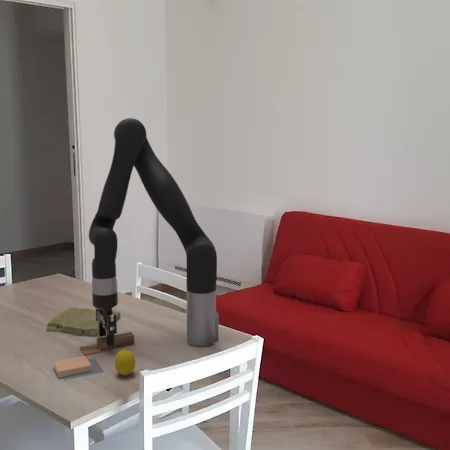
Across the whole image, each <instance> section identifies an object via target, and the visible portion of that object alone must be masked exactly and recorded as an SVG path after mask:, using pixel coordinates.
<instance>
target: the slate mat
mask: <svg viewBox="0 0 450 450" xmlns="http://www.w3.org/2000/svg"><path fill="white" fill-rule="evenodd" d="M87 359H88V361H89V362H90V364H91V368H92V372H88V373H83V374H78V375H73V376H69V377H64V378H63V380H64V381H67V380H72V379H76V378H81V377H85V376H90V375H95V374H99V373H104V372H105V371H104V369H103V368H102V366H101V365H100V364H99V362H98V361H97V359H96V358H95V357H93V358H87Z"/></svg>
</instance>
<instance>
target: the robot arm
mask: <svg viewBox="0 0 450 450" xmlns="http://www.w3.org/2000/svg"><path fill="white" fill-rule="evenodd" d="M145 127H146V126H145V125H144V124H143V123H142V122H141V121H140V120H138V119H136V118H133V117H130V118H124V119H123V120H120V121H119V122H118V123H117V125H116V126H115V127H114V128H115V129H114V132H113V138H114V140H115V141H114V147H113V148H114V150H113V156H112V162H111V164H110V168H109V171H108V173H107V174H108V175H107V178H106V180H105V182H104V185H103V188H102V192H101V195H100V199H99V203H98V207H97V212H96V213H95V215H94V217H93V220H92V222H91V224H90V227H89V231H88V240H89V242H90V243H91V244H92V246H93V249H94V250H93V251H94V256H93V259H92V261H91V262H92V263H91V276H92V279H91V293H92V294H91V296H92V297H91V299H92V306H93V308H95V310H96V321H98V322H97V323H98V325H99V336H100V337H106V336H107V346H114V344H115V341H114V335H117V334H118V328H117V327H118V326H117V322H116V314H114V312H113V311H114V310H113V308H115V307H116V306H117V305H118V303H119V299H118V298H119V296H118V294H119V293H118V279H117V266H116V265H117V263H116V258H117V253H118V245H119V244H118V236H117V233H116V232H115V230H114V227H115V225H116V221H117V220H118V219H120V218H121V216H122V213H123V210H124V206H125V202H126V197H127V194H128V189H129V186H130V185H129V184H130V180H131V178H132V177H131V176H132V172H133V169H134V168H135V171H136V172H137V174H138V176H139V179H140V180H141V183H142V184H143V187H144V190H145V191H146V193H147V194H148V197H149V199H150V200H151V202H152V204H153V205H154V207H155V208H156V210H157V211H158V213H159V214H160V216H161V217H162V218H163V219H164V220H165V221H166V222H167V224H168V225H169V226H170V227H171V228H172V229H173V231H174V232H175V233H176V236H177V237H178V239H179V241H180V242H181V243H180V244H181V245H182V247H183V250H184V251H185V255H186V342H187V343H188V344H189V345H191V346H193V347H208V346H212V345H213V344H215V343H217V342H219V312H218V311H217V279H218V275H217V274H218V272H217V271H218V269H217V268H218V257H217V251H216V247H215V245H214V243H213V242H212V241H211V239H210V238H209V237H208V235H207V234H206V233H205V231H204V230H203V229H202V227H201V226H200V225H199V223H198V221H197V220H196V218H195V216H194V213H193V212H192V209H191V207H190V204H189V203H188V200H187V199H186V197H185V195H184V193H183V191H182V190H181V188H180V186H179V185H178V183H177V182H176V180H175V179H174V177H173V176H172V174H171V173H170V171H169V169H167V168H166V167H165V165H164V164H163V163H162V162H161V161H160V159H159V158H158V157H157V155H156V153H155V152H154V149H153V148H152V146H151V144H150V142H149V140H148V137H147V129H146V128H145ZM110 327H111V328H110ZM100 337H99V338H100Z"/></svg>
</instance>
